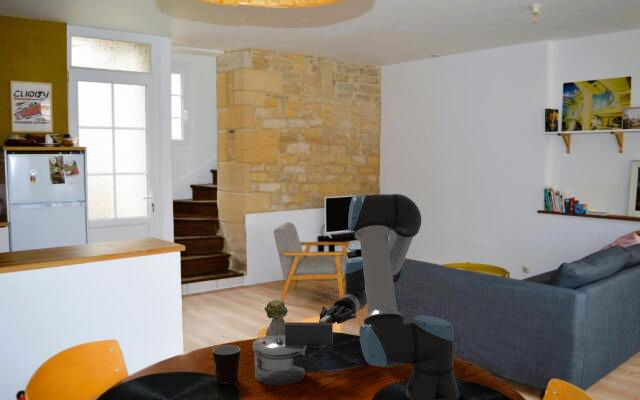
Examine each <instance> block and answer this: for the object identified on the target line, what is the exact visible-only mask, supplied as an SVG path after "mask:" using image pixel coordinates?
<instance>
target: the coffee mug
mask: <svg viewBox="0 0 640 400" xmlns="http://www.w3.org/2000/svg"><path fill="white" fill-rule="evenodd" d="M240 356H241V347H239V346H237V345H235V344H233V345H232V344H225V345H224V344H223V345H220V346H216V347H214V348H213V349H212V357H213V364H214V365H213V366H214V371H215V377H216V378H215V379H216V381H217V380H218V381H219V382H230V383H233V384H235V383H237V382H238V378H239V377H238V375H239V369H240V366H239V365H240V358H241V357H240Z"/></svg>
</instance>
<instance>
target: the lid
mask: <svg viewBox="0 0 640 400" xmlns="http://www.w3.org/2000/svg"><path fill="white" fill-rule="evenodd" d="M285 323H286V324H285V335H274V336H267V335H266V336H263V337H259V338H258V339H256V340H254V341H253V343H252V351H253V352H254V351H255V352H256V353H258V354H262V355H266V356H289V355H294V354H298V353H300V352H302V351H304V350H305V351H306V349H307V346H333V345H334V340H333V338H334V335H333V334H334V333H333V331H334V330H333V325H334V324H333V323H319V322H307V321H306V322H304V321H303V322H301V321H300V322H299V321H298V322H296V321H295V322H293V321H290V322H289V321H287V322H286V321H285Z"/></svg>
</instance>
